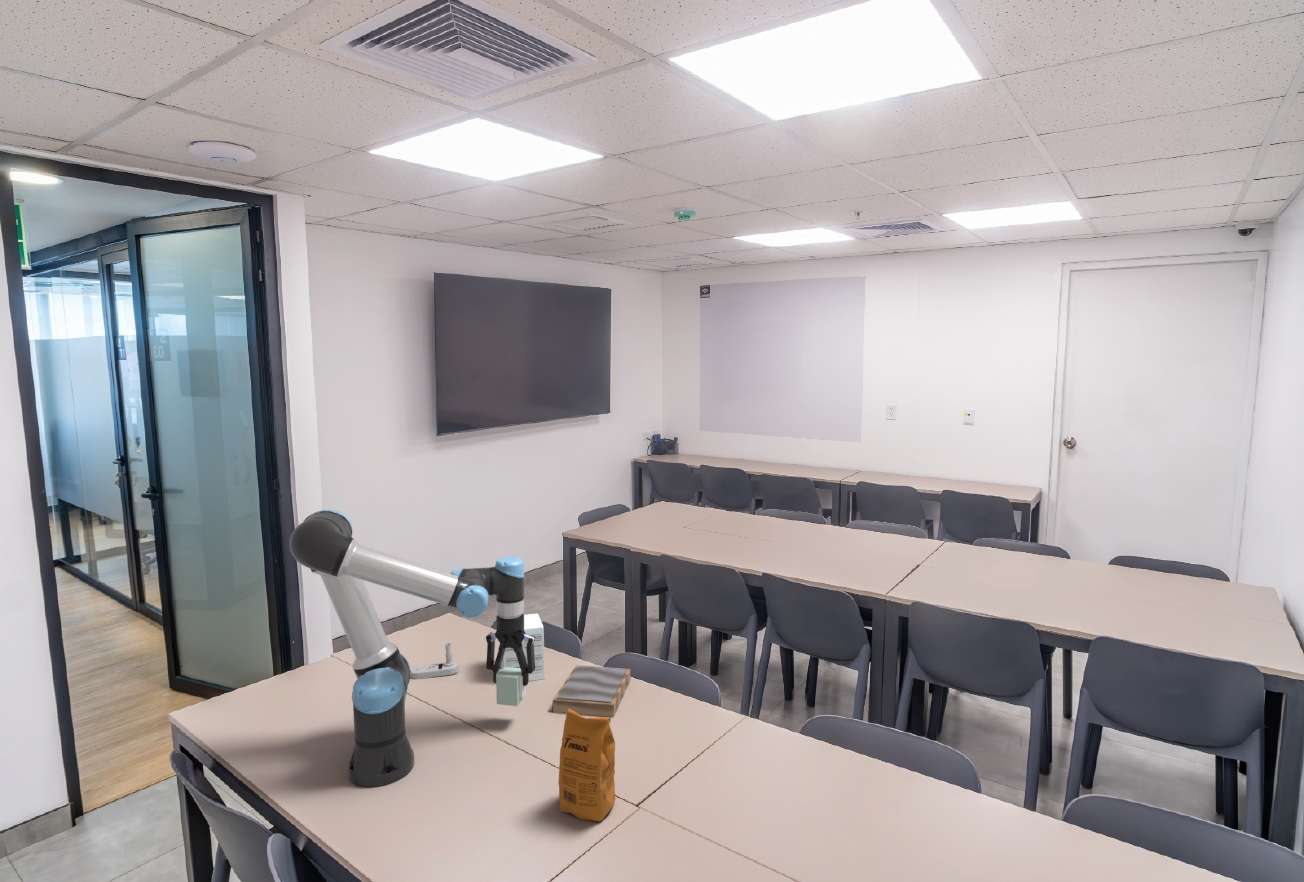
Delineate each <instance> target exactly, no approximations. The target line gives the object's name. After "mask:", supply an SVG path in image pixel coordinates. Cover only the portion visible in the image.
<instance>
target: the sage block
mask: <svg viewBox="0 0 1304 882" xmlns="http://www.w3.org/2000/svg"><path fill="white" fill-rule="evenodd" d="M521 673H522V672H521V669H520V668H511V667H504V668H503V669H502V670H501V672H500V673H499V674H498V675H497V676H496V683H495V688H496V689H495V690H496V691H495V692H496V693H497V696H496V705H501V706H502V705H503V706H513V707H518V706H519V705H520V703H521V702H522V701H523V699H525V697H526V694H525V695H524V697H523V698H520V693H519V675H520V674H521ZM496 693H495V694H496Z"/></svg>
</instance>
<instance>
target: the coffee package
mask: <svg viewBox="0 0 1304 882" xmlns="http://www.w3.org/2000/svg"><path fill="white" fill-rule="evenodd" d="M565 716H566V717H565V720H564V725H563V732H562V733H563V734H562V739H561V746H560V752H559V766H558V767H559V768H558V797H559V799H558V800H559V812H561V813H566V814H572V815H573V816H575V817H576V818H578V819H579V820H582V821H594V822H601V821H604V820H605V817H606V816H607V815H608V814H609V812H610V811H611V810H612V809H613V806H614V805H615V801H616V785H615V773H616V770H615V768H616V767H615V765H616V754H615V753H616V740H615V738H614V735H613V732H612V729H611V725H610V724H611V720H612V719H611V717H605V716H599V717H587V718H586V717H584V716H582V715H581V714H577V713H576V712H575V711H572V710H571V709H568V710H567V713H565Z"/></svg>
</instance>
